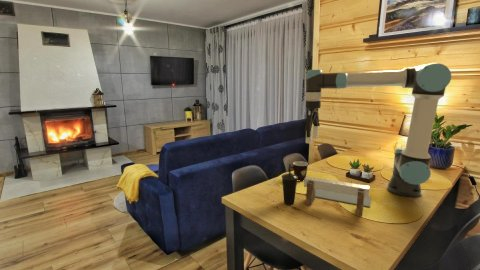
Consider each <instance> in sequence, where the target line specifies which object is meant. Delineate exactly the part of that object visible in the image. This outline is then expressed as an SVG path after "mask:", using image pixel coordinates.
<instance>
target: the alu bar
mask: <svg viewBox="0 0 480 270" xmlns="http://www.w3.org/2000/svg"><path fill="white" fill-rule="evenodd" d="M307 182H311V183H313V188H314V189H319V190H325V191H331V192H337V193H342V194H348V195H354V196H358V190H359V191H364V197H365V198H368V196H370V185H364V184H358V183H353V182H352V183H351V182H345V181H341V180H340V181H339V180H332V179H326V178H320V177H313V176H307V175H306V177H305V179H304V181H303V187H304V188H307Z"/></svg>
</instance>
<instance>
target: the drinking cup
mask: <svg viewBox="0 0 480 270" xmlns="http://www.w3.org/2000/svg"><path fill="white" fill-rule="evenodd" d="M291 167H292V165H291V163H289V164H288V170H289V171H288V172H287V173H284V174H282V175H281V179H282V193H283V203H284V205H286V206H293V205H295V200H296V192H297V183H298V181H297V179H298V176H297V175H294V173H292V174H291V172H292V171H291V169H292V168H291Z"/></svg>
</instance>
